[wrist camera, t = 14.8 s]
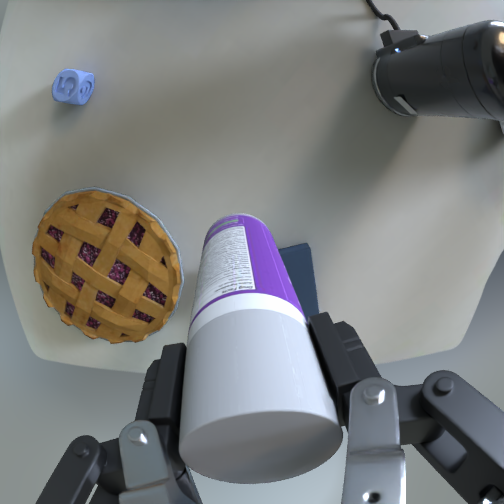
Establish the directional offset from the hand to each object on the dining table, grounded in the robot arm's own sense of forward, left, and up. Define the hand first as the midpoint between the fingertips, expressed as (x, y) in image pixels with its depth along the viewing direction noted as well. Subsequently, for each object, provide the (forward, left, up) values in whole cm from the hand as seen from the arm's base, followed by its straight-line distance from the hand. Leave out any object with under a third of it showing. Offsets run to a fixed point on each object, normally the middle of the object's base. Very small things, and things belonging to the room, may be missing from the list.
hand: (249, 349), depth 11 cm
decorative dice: (-19, -15, -27) cm, 36 cm away
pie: (+4, -19, -27) cm, 33 cm away
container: (0, 0, -11) cm, 11 cm away
